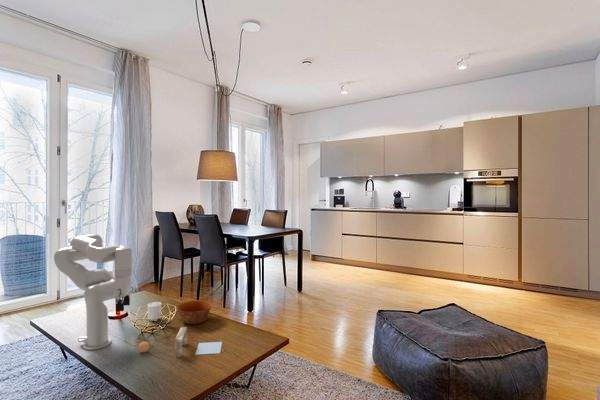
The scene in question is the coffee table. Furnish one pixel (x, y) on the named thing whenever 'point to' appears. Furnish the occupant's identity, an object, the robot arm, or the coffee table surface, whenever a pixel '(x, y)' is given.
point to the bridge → (180, 341)
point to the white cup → (154, 310)
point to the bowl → (194, 311)
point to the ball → (143, 347)
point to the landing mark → (209, 348)
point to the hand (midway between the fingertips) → (123, 307)
